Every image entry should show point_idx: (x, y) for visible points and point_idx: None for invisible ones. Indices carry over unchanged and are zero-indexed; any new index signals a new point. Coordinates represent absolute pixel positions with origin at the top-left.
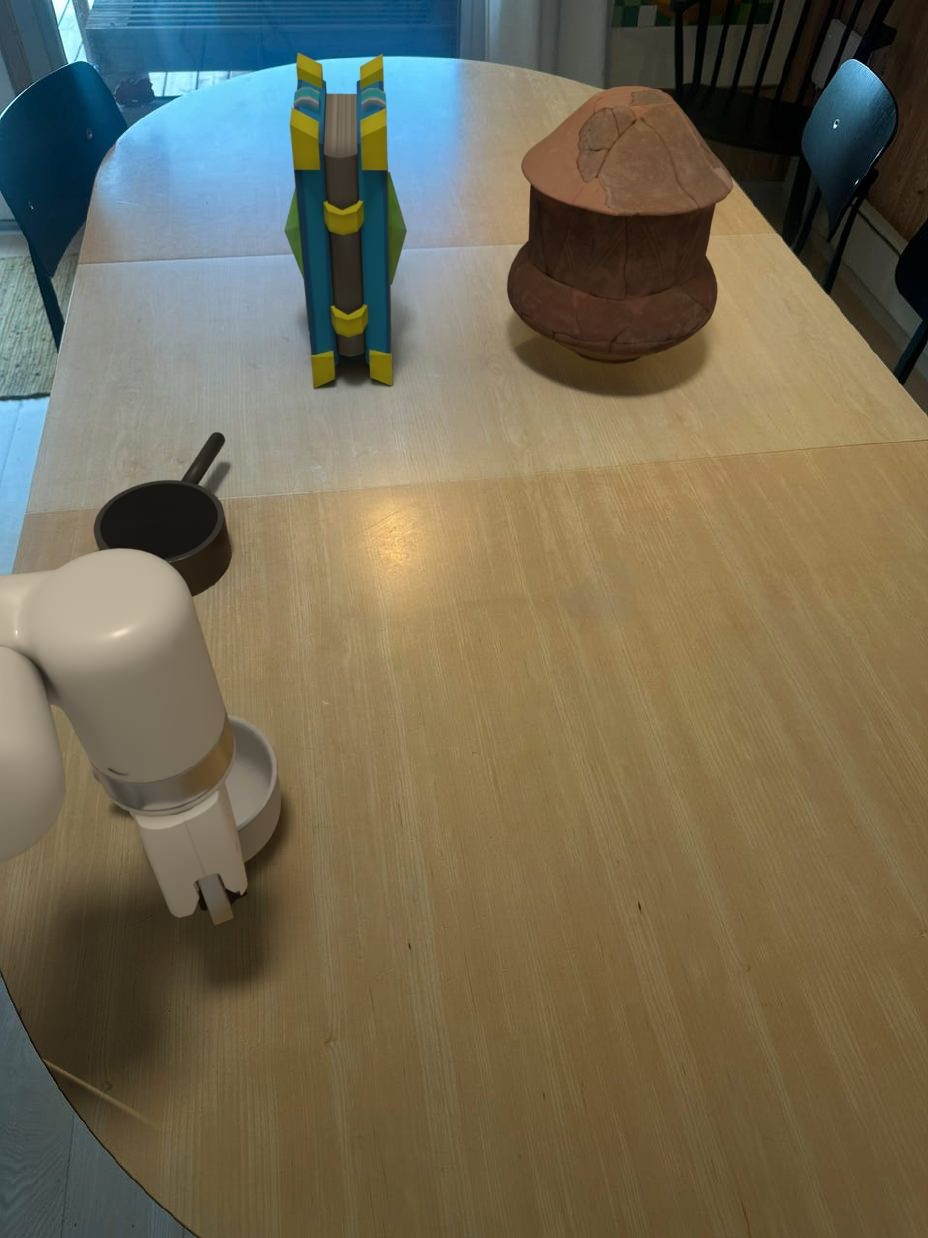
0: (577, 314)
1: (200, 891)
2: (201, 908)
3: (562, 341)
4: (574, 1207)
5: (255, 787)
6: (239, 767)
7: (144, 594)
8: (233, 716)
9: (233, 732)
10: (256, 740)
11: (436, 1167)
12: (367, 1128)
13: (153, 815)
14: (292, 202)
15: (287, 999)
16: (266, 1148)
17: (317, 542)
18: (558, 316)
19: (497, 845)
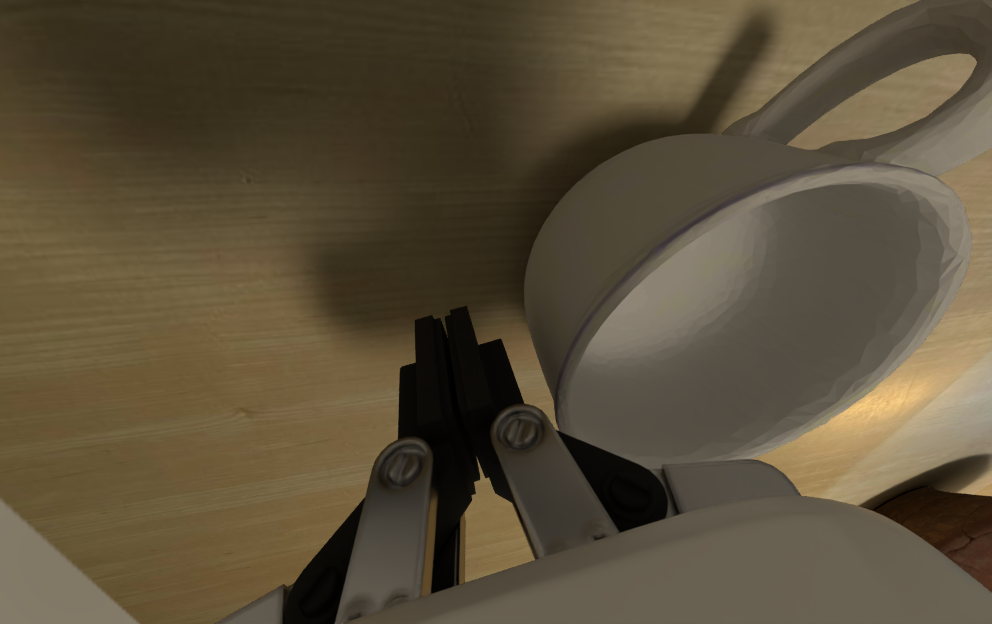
0: (979, 573)
1: (307, 616)
2: (415, 325)
3: (954, 538)
4: (115, 579)
5: (660, 322)
6: (708, 305)
7: None
8: (842, 410)
9: (795, 371)
10: (753, 422)
11: (104, 509)
12: (125, 456)
13: None
14: None
15: (303, 363)
16: (19, 359)
17: (947, 340)
18: (990, 556)
19: (495, 502)
